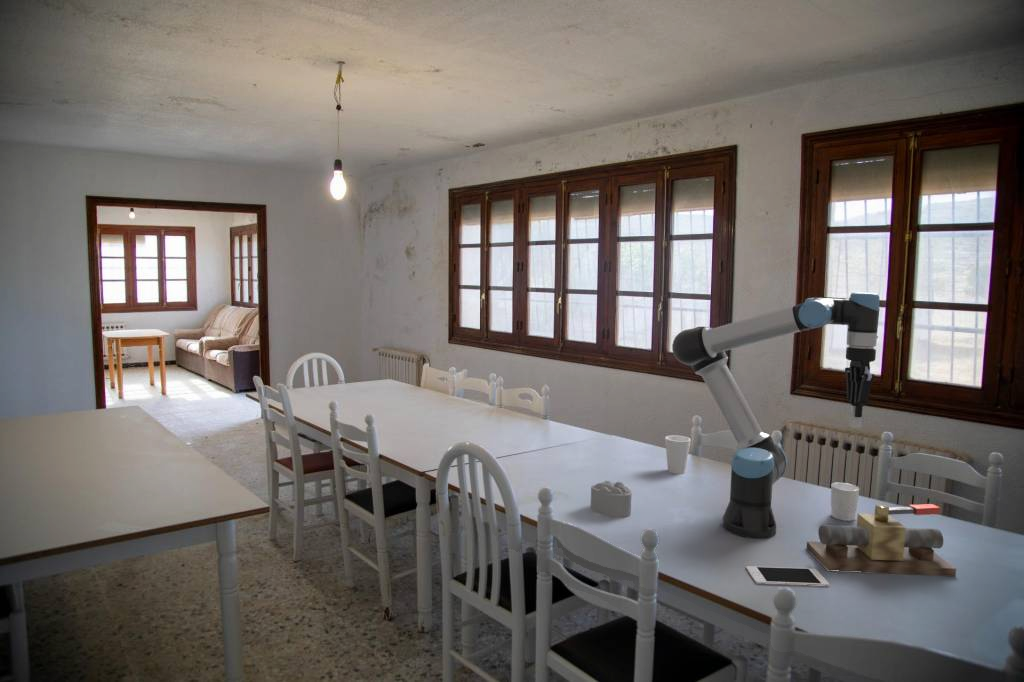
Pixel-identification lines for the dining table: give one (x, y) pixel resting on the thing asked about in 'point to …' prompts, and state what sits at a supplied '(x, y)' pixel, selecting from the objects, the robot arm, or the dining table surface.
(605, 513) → the lumpy-topped squat cylinder
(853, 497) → the white cup
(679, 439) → the foam cup
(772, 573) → the cell phone
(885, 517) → the valve lever
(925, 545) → the pipe rig
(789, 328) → the robot arm
